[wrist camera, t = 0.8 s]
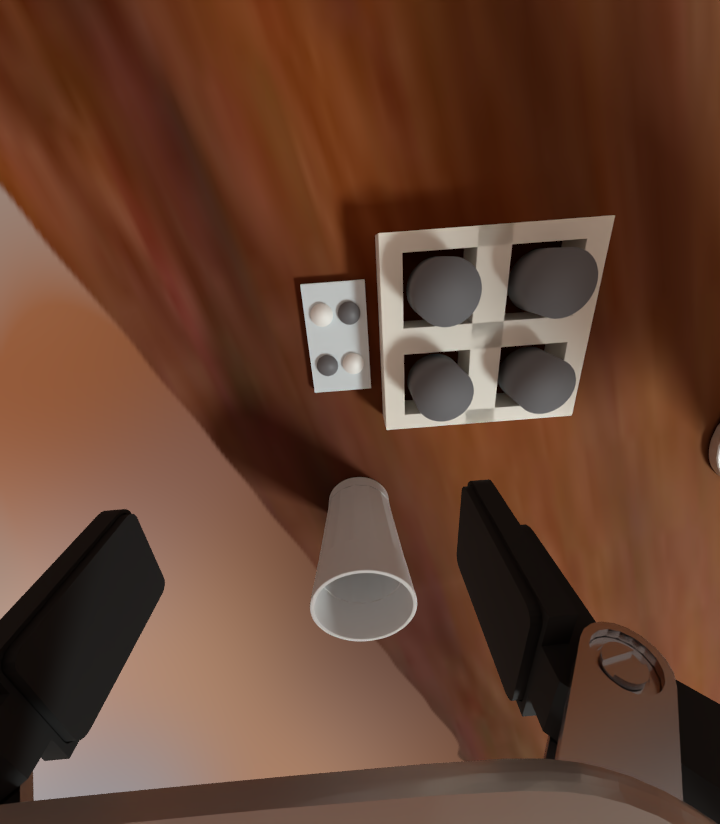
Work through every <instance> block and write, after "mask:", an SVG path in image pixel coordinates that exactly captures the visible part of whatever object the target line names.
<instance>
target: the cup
mask: <svg viewBox="0 0 720 824" xmlns="http://www.w3.org/2000/svg"><path fill="white" fill-rule="evenodd" d="M416 609H417V598H416V594H415V591H414V588H413V584H412V581H411V578H410V574H409V571H408V568H407V564H406V561H405V559H404V555H403V552H402V548H401V545H400V541H399V538H398V534H397V531H396V527H395V523H394V520H393V516H392V513H391V509H390V505H389V499H388V494H387V492H386V490H385V488H384V487H383V486H382V485H381V484H380V483H378V482H377V481H375V480H373V479H370V478H365V477H354V478H349V479H346V480H344V481H342V482H340V483H339V484H338V485H337V486H335V488H334V489H333V490H332V492H331V494H330V497H329V508H328V514H327V520H326V525H325V530H324V536H323V541H322V547H321V552H320V558H319V563H318V567H317V572H316V578H315V582H314V587H313V592H312V597H311V603H310V612H311V615H312V618H313V620H314V621H315V623H316V624H317V625H318V626H319V627H320V628H321V629H322V630H324V631H325V632H327V633H328V634H330V635H332V636H335V637H337V638H341V639H345V640H350V641H371V640H377V639H381V638H385V637H388V636H390V635H392V634H394V633H396V632H398V631H400V630H401V629H403V628H404V627H405V626H406V625H407V624H408V623H409V622H410V621H411V620H412V618H413V616H414V614H415V612H416Z"/></svg>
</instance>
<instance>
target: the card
mask: <svg viewBox="0 0 720 824" xmlns="http://www.w3.org/2000/svg"><path fill="white" fill-rule="evenodd" d="M300 287H301V294H302V302H303V309H304V317H305V324H306V331H307V339H308V346H309V353H310V361H311V368H312V376H313V383H314V390H315V393H316V392H329V391H342V390H355V389H368V388H371V378H370V361H369V345H368V328H367V311H366V294H365V280H364V279H360V280H347V281H334V282H321V283H308V284H300Z"/></svg>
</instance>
